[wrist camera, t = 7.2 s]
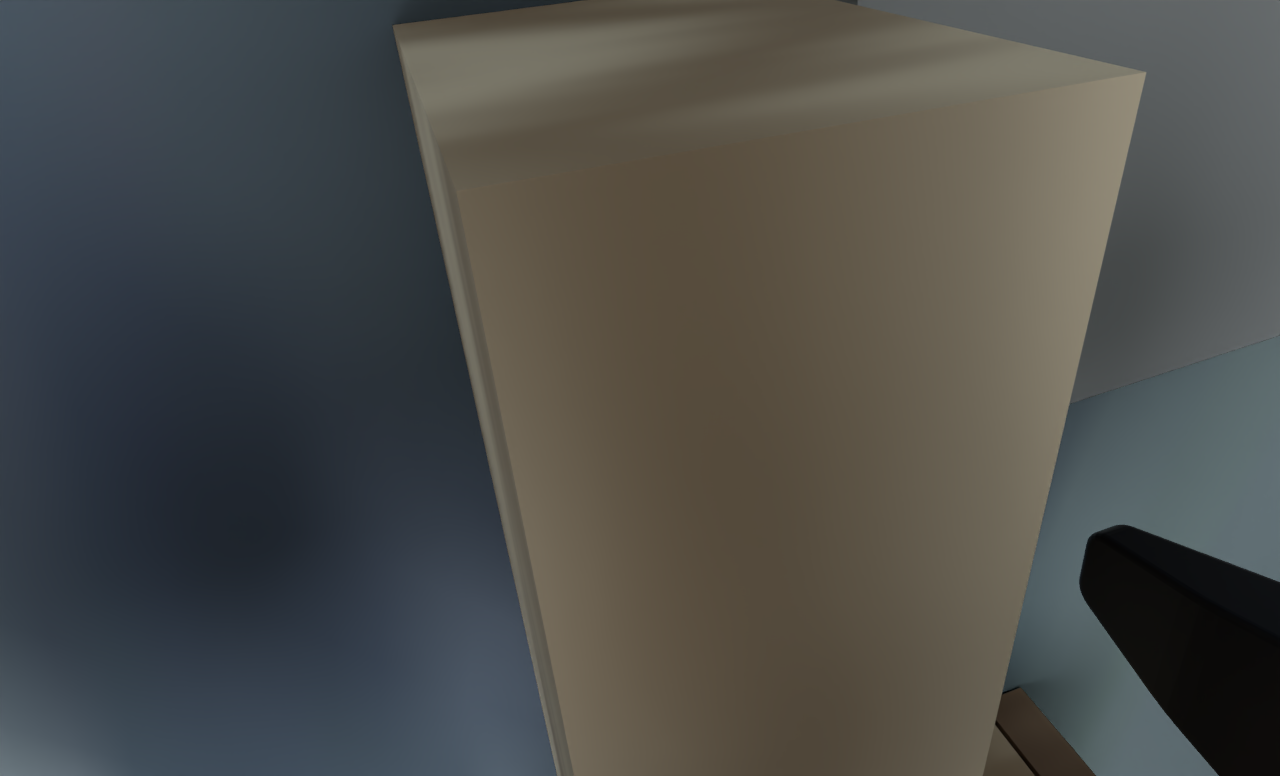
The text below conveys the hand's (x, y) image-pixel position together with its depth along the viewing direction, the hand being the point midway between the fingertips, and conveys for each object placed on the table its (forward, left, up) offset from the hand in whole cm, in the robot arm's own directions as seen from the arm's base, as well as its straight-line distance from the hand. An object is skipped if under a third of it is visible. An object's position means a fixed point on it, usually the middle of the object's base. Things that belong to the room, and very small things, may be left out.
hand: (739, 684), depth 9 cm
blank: (0, 0, -4) cm, 4 cm away
